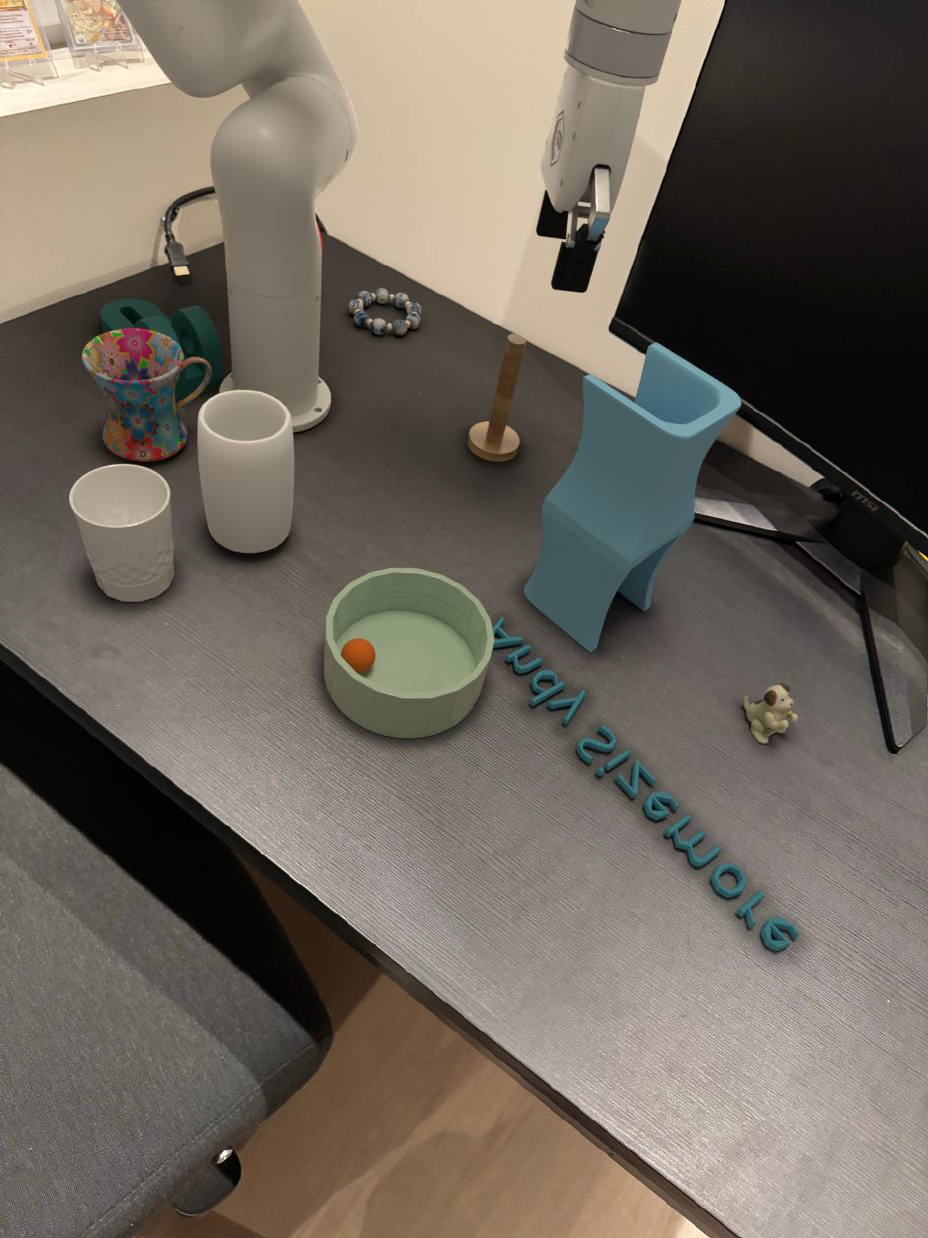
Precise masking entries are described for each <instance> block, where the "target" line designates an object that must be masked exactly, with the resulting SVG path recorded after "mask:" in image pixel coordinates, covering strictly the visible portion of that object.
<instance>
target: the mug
mask: <svg viewBox="0 0 928 1238" xmlns="http://www.w3.org/2000/svg"><path fill="white" fill-rule="evenodd" d="M81 360H82V363H83V366H84V367H85V368H86V370H87V371H88V372H89V374H90V375H91V376H92V377H93V379H94V381H95V382H96V384H97V386H98V388H99V389H100V392H101V394H102V396H103V398H104V399H103V400H104V404H105V409H106V422H105V425H104V427H103V430H102V441H103V443H104V445H105V447H107V449H108V450H109V451H110V452H111V453H113V454H114V455H115V456H118V457H119V458H122V459H124V460H127V461H132V462H144V463H145V462H147V463H149V462H157V461H160V460H165V459H168V458H170V457H172V456H174V455H175V454H177V453H178V452H180V451H181V450H182V449H183V447H184V446H185V445H186V443H187V440H188V437H189V433H188V429H187V426H186V424H185V423H184V421H183V420H182V419H181V417H180V415H179V413H180V414H182V415H185V414H186V410H185V408H183V407H185V406H187V405H188V404H189V403H191V402H193V401H194V400H195V399H196V398H197V397H198V396H200V394H202V393H203V392H202V391H203V390H204V388H205V387H206V385H207V384H208V382H209V380H210V377H211V367H210V364H209V363H208V362H207V361H206V360H205V359H203V358H200V357H191V358H188V359H186V360H184V354H183V351H182V349H181V347H180V346H179V344H178V343H177V342H175V341H174V340H173V339H171V338H170V337H168V336H166V335H164V334H161V333H159V332H155V331H151V330H146V329H119V330H114V331H110V332H106V333H104V332H103V333H101V334H99V335H97V336H95V337H94V338H92V339H91V340H90V341H89V342H87V344H85V346H84V348H83V350H82V353H81ZM192 363H202V364H204V365H205V366H206V367H207V372H206V375H205V378H204V380H203V381H202V383H201V384H200V386H199V387H198V388H197V389H196V390H195V391H194V392H193V393H192V394H190V395H189V396H188V397H185V398H182V399H180V401H178V402H177V403H176V401H175V386H176V381H177V380H178V379H179V375H180V373H181V371H182V370H183V369H184V368H185V367H186V366H187V365H189V364H192ZM178 412H179V413H178Z"/></svg>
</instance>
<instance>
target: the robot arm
mask: <svg viewBox="0 0 928 1238" xmlns="http://www.w3.org/2000/svg"><path fill="white" fill-rule="evenodd" d="M115 1H116V3H117V5H118V7H120V9H121V10H122V12H123V14H124V15H125V16H126V19H128V21H129V23H130V25H131V26H132V28H133V29H134V31H135V33H137V35H138V37H139V38H140V40H141V42H142V43H143V45H144V46H145V48H146V49H147V51H148V53H150V55H151V57H152V58H153V60H154V61H155V63H156V64H157V66H158V67H159V69H160V70H161V71H162V73H163V75H165V77H166V78H167V79H168V80H169V82H171V83H172V85H173V86H174V87H175V88H177V89H178V90H180V91H181V92H182V93H184V94H185V95H187V96H189V97H192V98H197V99H198V98H199V99H206V98H212V97H217V96H220V95H222V94H224V93H226V92H227V91H230V90H231V89H233V88H235V87H237V86H239V85H241V86H242V89H244V91H245V93H246V94H247V96H248V97H249V99H247V100H245V101H244V102H242V103H241V104H239V105H238V106H237V107H235V108H234V109H233V110H232V111H230V113H229V114H228V115H227V116H226V117H225V118H224V119H223V121H222V122H221V123H220V125H219V126H218V128H217V130H216V132H215V134H214V137H213V140H212V143H211V147H210V155H209V156H210V157H209V162H210V164H209V165H210V173H211V178H212V179H211V180H212V184H213V188H214V193H215V196H216V200H217V204H218V205H217V206H218V208H219V213H220V221H221V226H222V235H223V243H224V244H223V245H224V259H225V261H224V262H225V272H226V285H227V286H226V287H227V303H228V306H227V307H228V321H229V322H228V323H229V337H230V338H229V339H230V357H231V359H230V360H231V372H230V373H229V374H228V375H227V376H225V378H223V382H222V383H221V385H220V386H219V389H218V394H220V393H223V392H227V391H234V390H252V391H258V392H263V393H265V394H268V395H270V396H272V397H274V398H276V399H277V400H279V401H280V402H281V403H282V404H283V405H284V406H285V407H286V408H287V409H288V411H289V413H290V414H291V420H292V430H293V434H294V433H299V432H303V431H306V430H309V429H311V428H313V427H315V426H317V425H319V424H320V423H321V422H323V420H324V419H326V417H327V416H328V414H329V412H330V410H331V406H332V405H331V404H332V394H331V390H330V387H329V386H328V385H327V383H326V382H325V380H323V378H321V377H320V376H319V371H320V369H319V368H320V343H321V341H320V337H321V311H322V307H321V305H322V268H323V251H322V252H321V241H320V236H319V231H318V228H317V224H318V222H317V219H316V203H317V199H318V198H319V195H320V194H321V193H323V192H324V191H325V190H326V189H327V187H329V185H330V184H332V182H334V181H335V180H336V179H337V178H338V177H339V176H340V175H342V173H344V172H345V171H346V169H347V168H348V167H349V166H350V164H351V163H352V161H353V160H354V158H355V156H356V153H357V150H358V146H359V140H360V139H359V138H360V137H359V135H360V131H359V123H358V118H357V114H356V110H355V108H354V105H353V102H352V100H351V97H350V95H349V94H348V91H347V89H346V87H345V85H344V83H343V82H342V80H341V78H340V76H339V74H338V72H337V71H336V69H335V67H334V64H333V63H332V61H331V60H330V57H329V56H328V54H327V52H326V50H325V48H324V47H323V45H322V43H321V41H320V39H319V37H318V36H317V34H316V32H315V30H314V28H313V26H312V24H311V22H310V21H309V18H308V17H307V15H306V13H305V11H304V9H303V8H302V6H301V4H300V2H299V1H298V0H115ZM574 3H575V4H574V7H573V11H572V15H571V20H570V25H569V29H568V33H567V34H568V35H567V38H566V42H565V48H564V50H563V51H564V52H563V59H564V61H565V62H566V63H567V66H566V69H565V72H564V75H563V79H562V81H561V85H560V89H559V92H558V95H557V98H556V99H557V100H556V103H555V107H554V111H553V114H552V117H551V122H550V126H549V129H548V133H547V136H546V141H545V145H544V149H543V153H542V156H541V162H540V172H541V176H542V179H543V182H544V185H545V188H546V189H544V193H543V197H542V202H541V206H540V210H539V215H538V218H537V224H536V227H535V233H536V235H537V236H538V237H543V238H551V239H558V240H565V241H561V242H560V246H559V250H558V252H557V258H556V261H555V265H554V269H553V273H552V277H551V280H550V286H551V289H552V290H555V291H563V292H570V293H577V294H585V293H586V292H587V291H588V288H589V285H590V281H591V278H592V274H593V271H594V268H595V264H596V262H597V258H598V255H599V252H600V250H601V247H602V242H603V239H605V236H604V235H605V234H606V228H607V226H608V224H609V222H610V220H611V214H612V213H613V210H614V208H615V205H616V202H617V201H618V200H617V199H618V197H619V193H620V191H621V188H622V184H623V181H624V177H625V175H626V170H627V168H628V167H627V166H628V163H629V159H630V155H631V152H632V148H633V144H634V140H635V136H636V133H637V132H636V131H637V127H638V124H639V119H640V116H641V110H642V105H643V101H644V98H645V97H644V96H645V92H646V88H647V86H651V85H654V84H656V83H657V82H658V81H659V77H660V73H661V70H662V67H663V63H664V60H665V57H666V54H667V51H668V47H669V43H670V41H671V38H672V34H673V29H674V26H675V23H676V20H677V18H678V14H679V10H680V7H681V4H682V0H575V2H574ZM579 203H584V204H585V203H586V204H590V206H585V205H579ZM579 219H586V220H587V223H582V224H581V225H580V226H579V228H578V223H579V222H578V221H579ZM316 222H317V223H316Z"/></svg>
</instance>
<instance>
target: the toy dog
mask: <svg viewBox="0 0 928 1238" xmlns="http://www.w3.org/2000/svg"><path fill="white" fill-rule="evenodd" d="M742 703H743V708H744V710H745V712H746V715H745V716H746V718H747V720H748V721H749V722H750V723H751V724H750V725H751V726H750V732H751V734H752V735H753V737H754V738H755V740H756V741H757V742H758V743H760V744H762V745H767V744H768V743H769V737H770V736H772V735H773V734H776V733H778V734H785V733H786V731H787V729H788V728H789V726H790V725H789V724H790V723H789V721H788V720H787V719H791V721H792V723H797V722H798V720H799V716H798V714H797V713H794V712H792V708H793V706H794V704H795V703H794V699H793V697H792V693H791V688H790V687H789V686H788V685H787V684H786V683H779V684H774V685H771V686H769V687H768V688H767V689H766V690H765V692H764V694H763V699H759V700H757V701H754V702H752V703H751V704H750V702H749V696H748V695H745V696H744V697H743V702H742ZM786 718H787V719H786Z"/></svg>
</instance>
